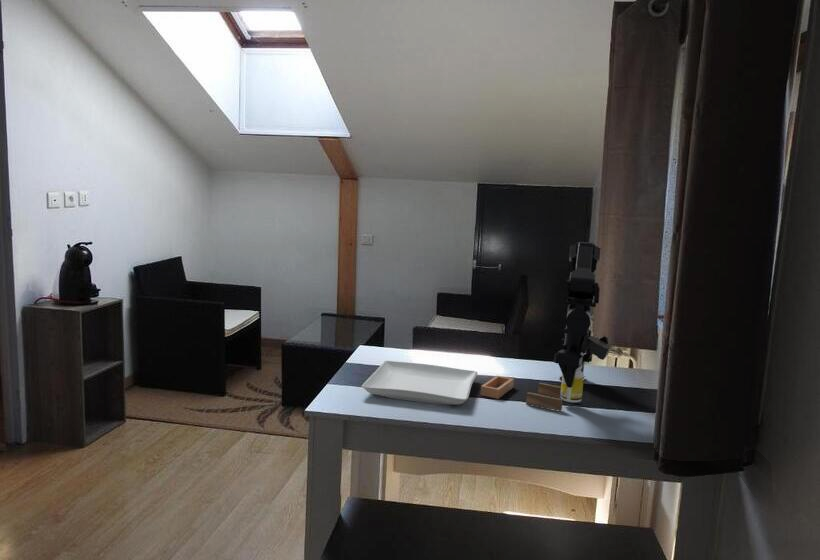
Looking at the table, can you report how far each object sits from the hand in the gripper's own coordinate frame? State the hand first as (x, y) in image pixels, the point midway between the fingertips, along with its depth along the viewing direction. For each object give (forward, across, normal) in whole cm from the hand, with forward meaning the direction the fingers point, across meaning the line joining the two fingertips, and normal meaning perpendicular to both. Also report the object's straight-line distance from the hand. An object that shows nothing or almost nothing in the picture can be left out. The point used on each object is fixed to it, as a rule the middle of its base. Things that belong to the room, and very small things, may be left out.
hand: (572, 384), depth 166 cm
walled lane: (+6, 0, +5) cm, 8 cm away
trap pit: (+6, 0, +20) cm, 21 cm away
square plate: (+6, -11, +38) cm, 40 cm away
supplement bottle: (+4, 0, 0) cm, 4 cm away
